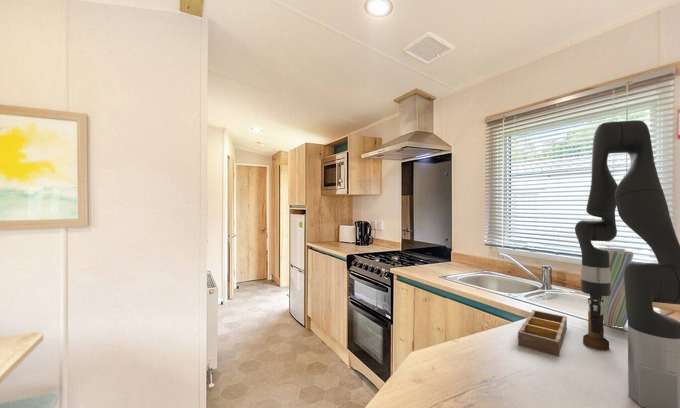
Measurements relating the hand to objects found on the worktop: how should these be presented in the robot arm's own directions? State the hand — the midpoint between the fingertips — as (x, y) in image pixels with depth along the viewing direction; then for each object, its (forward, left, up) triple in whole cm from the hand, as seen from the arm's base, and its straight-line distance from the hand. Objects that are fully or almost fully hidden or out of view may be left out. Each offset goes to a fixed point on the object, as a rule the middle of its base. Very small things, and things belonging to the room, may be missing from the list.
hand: (595, 330), depth 98 cm
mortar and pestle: (0, 0, -5) cm, 5 cm away
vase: (+27, -5, -5) cm, 28 cm away
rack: (-3, +14, -5) cm, 15 cm away
